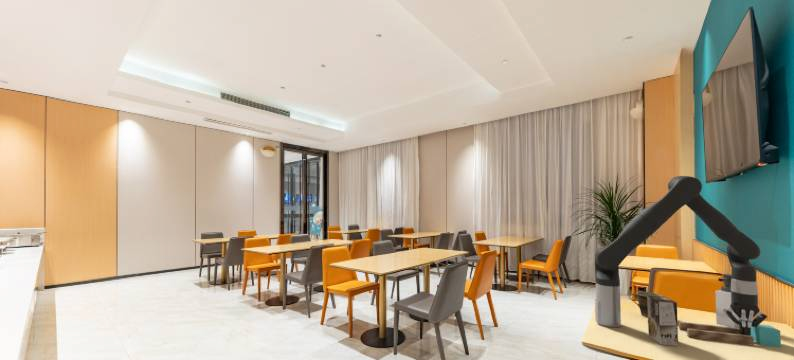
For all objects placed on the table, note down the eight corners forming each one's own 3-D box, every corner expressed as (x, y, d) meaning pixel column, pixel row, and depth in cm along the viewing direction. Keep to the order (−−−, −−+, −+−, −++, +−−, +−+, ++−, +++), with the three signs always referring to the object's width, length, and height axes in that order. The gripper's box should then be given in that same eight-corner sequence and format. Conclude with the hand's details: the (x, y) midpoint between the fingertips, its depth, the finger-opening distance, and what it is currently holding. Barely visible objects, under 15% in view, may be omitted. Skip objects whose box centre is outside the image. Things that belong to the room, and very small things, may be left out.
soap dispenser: (713, 324, 154) (711, 273, 155) (725, 322, 156) (724, 272, 158) (731, 329, 147) (729, 277, 149) (744, 327, 150) (742, 275, 151)
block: (760, 344, 132) (759, 328, 132) (750, 338, 138) (750, 323, 138) (781, 347, 130) (780, 330, 130) (770, 341, 136) (769, 325, 136)
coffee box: (679, 346, 130) (677, 302, 131) (659, 344, 131) (658, 301, 132) (665, 336, 139) (664, 295, 140) (647, 335, 140) (646, 294, 141)
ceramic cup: (661, 314, 165) (660, 293, 166) (664, 321, 157) (663, 298, 157) (628, 310, 172) (628, 289, 173) (629, 315, 164) (629, 294, 164)
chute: (688, 337, 138) (688, 329, 139) (679, 328, 148) (678, 321, 148) (754, 345, 131) (753, 337, 131) (739, 335, 140) (739, 328, 141)
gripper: (727, 291, 136) (728, 336, 135) (772, 295, 131) (773, 342, 130) (718, 287, 143) (719, 330, 142) (760, 291, 138) (761, 335, 137)
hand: (745, 336), depth 136 cm, fingers closed
